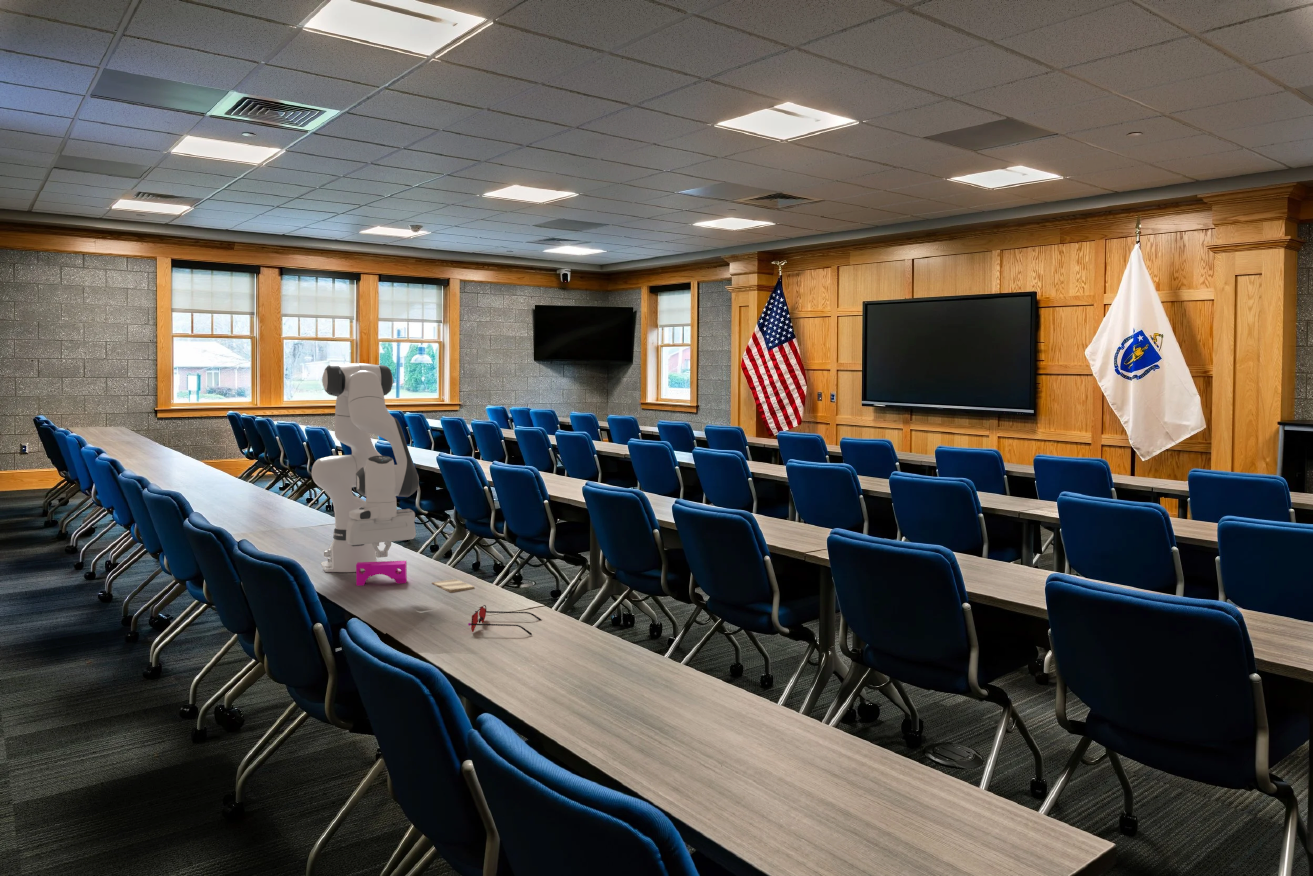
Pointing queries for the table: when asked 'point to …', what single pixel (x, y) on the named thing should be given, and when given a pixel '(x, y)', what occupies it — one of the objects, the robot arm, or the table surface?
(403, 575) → the toy block
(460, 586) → the wooden board
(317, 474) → the robot arm
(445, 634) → the table surface
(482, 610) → the glasses
